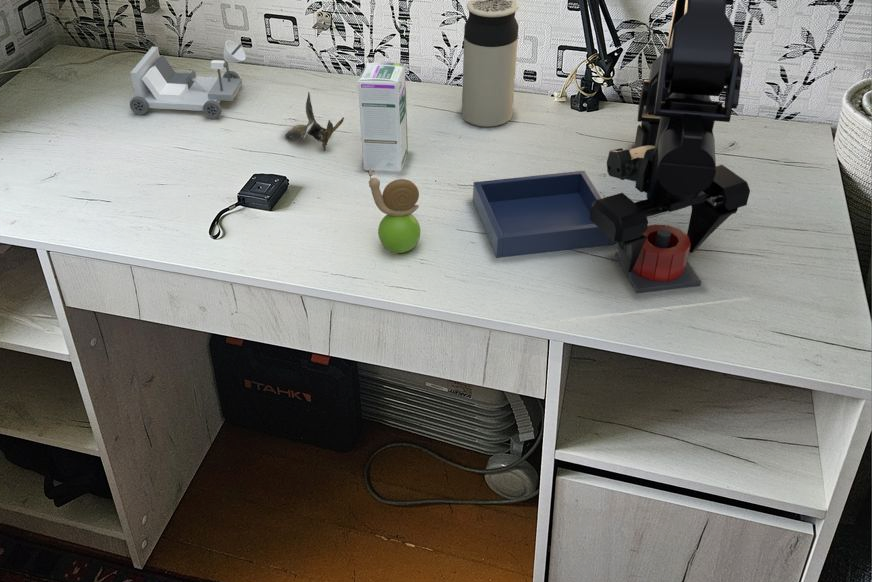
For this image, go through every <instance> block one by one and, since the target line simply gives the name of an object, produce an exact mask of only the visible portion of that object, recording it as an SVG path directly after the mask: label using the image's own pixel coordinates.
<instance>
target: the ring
mask: <svg viewBox="0 0 872 582" xmlns="http://www.w3.org/2000/svg"><path fill="white" fill-rule="evenodd" d="M660 229H667V230H669V231H670V232H671V237H670V242H669V246H668V248H659V247H656V246H655V242H656V237H657V232H658V230H660ZM643 234H644V235H645V236H646V237H647V238H646V241H645V243H644V245H643V248H642V250H641V252H640V254H639V257H638V259H637V261H636V264H635V266H634V268H633V270H634V271H635V272H636V273H637V274H638V275H639V276H641V277H643V278H646V279H649V280H652V281H653V280H654V281H662V282H667V281H672V280H675V279H678V278H680V276H681V275H682V274H683V273H684V271H685V267H686V263H687V261H688V258H689V254H690V253H689V250H690V246H691V243H690V239H689V237H688V235H687V233H685V232H684V231H683V230H682V229H680V228H678V227H676V226H675V227H674V226H672V225H669V224H648V226H647V230H646V231H645V232H644V233H643Z"/></svg>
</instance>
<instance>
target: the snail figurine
mask: <svg viewBox="0 0 872 582" xmlns="http://www.w3.org/2000/svg"><path fill="white" fill-rule="evenodd" d="M367 172H368V173H367V174H368V176H369V180H368V187H369V188H370V191H371V195H372V199H373V201H374V204H375V205H376V207H377V209H378V210H379V211H380V212H381V213H384V214H386V215H385V216H384V217H383V218H382V219H381V220H380V222H379V225H378V229H377V234H378V238H379V241H380V243H381V244H382V246H383V247H384V248H385V249H387V251H390V252H392V253H396V254H403V253H406V252H409V251H411V250H412V249H414V248H415V247H416V245H417V244H418V243H419V240H420V238H421V226H420V222H419V221H418V219H417V218H416V216H414V215H413V213H415V212H416V211H417V210H418V209H419V207H420V205H419V204H417V203H418V201H419V197H420V191H419V188H418V187H417V185H416V184H415V183H414V182H413V181H411V180H409V179H405V178H400V179H399V178H398V179H394V180H392V181H390V182H389V183H388V184H386V186H385V187H384V189H383V191H382V190H381V188H380V186H381V182H380V180H379V178H377V177H372V176H373V175H374V173H373V171H372V169H369V170H368V171H367ZM381 191H382V192H381Z"/></svg>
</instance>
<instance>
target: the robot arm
mask: <svg viewBox="0 0 872 582" xmlns="http://www.w3.org/2000/svg"><path fill="white" fill-rule="evenodd" d="M727 2H728V1H727V0H674V5H673V10H672V16H671V20H670V27H669V31H668V37H667V42H666V46H663V47H662V52H661V54H660V55H659V56H658V57H657V58H656V59H655V60H654V61H653V62H652V63H651V65H650V71H649V76H648V79H643V82H642V85H641V90H640V95H639V102H638V107H637V108H638V110H637V120H636V121H637V122H638V123H639V124H638V125H637V127H636V128H637V129H636V135H635V139H634V143H632V147H633V148H631V149H630V148H629V149H628V148H626V149H623V148H622V147H619V148H616V149H611V150H609V152H608V155H607V160H606V171H607V172H606V173H607V174H608V176H609V177H612V178H616V179H619V180H620V181H625V180H628V181H632V182H635V189H636V190H637V191H638V192H640V193H644V192H645V194H646V199H642V200H639V201H635V202H634V201H633V200H632V199H631V198H630V197H628V196H627V195H626V194H625V193H624V192H620V193H616V194H612V195H609V196H605V197H601V198H602V199H598V200H596V201H594V202H593V203H592V206H591V210H590V218H589V219H590V220H591V221H592V222H593V223H594V224H595V225H596V226H598V227H599V228H600V229H601V230H602V231H603V232H604V233H605V234H606V235H607V236H609V237H610V238H611V239H612V240H613V241H614V242H615V244H616V246H617V251H619V254H620V258H621V262H622V265H623V268H624V270H625V271H626V272H628V273H629V272H631V271H632V269H633V268H634V266H635V264H636V261H637V259H638V257H639V254H640V252H641V250H642V248H643V245H644V243H645V241H646V238H647V237H646V236H645V235H644V234H643V233H644V232H645V231H646V230H647V226H649V220H650V219H652V218H655V217H659V216H662V215H666V214H669V213H672V212H676V211H680V210H682V209H686V208H688V207H691V212H690V218H689V222H688V228H687V233H686V235H688V237H689V239H690V243H691V246H690V250H689V254H693V253H694V252H695V251H696V250H698V249H699V247H700V246H701V245H702V244H703V243H704V242H705V241H706V240H707V239H708V238H709V237H710V236H711V235H712V234H713V233H714V232H715V231H716V230H717V229H718V228H719V227H720V226H721V225H722V224H723V223H724V222H725V221H726V220H728V218H729V217H731V216H732V215H733V214H736V213H737V212H738V210H739V208H742V207H745V206H747V205H748V201H749V197H750V193H751V189H750V186H749V183H748V182H747V181H746V180H745V179H743V178H742V177H741V176H739V175H738V174H736V173H735V172H734V171H732V170H731V169H729V167H727V166H725V165H724V164H719V165H717V161H716V160H717V159H716V141H715V135H714V126H715V122H721V123H730V122H731V118H732V112H733V111H732V110H733V109H734V110H735V109H737V108H738V106H739V100H740V93H741V84H742V76H743V68H744V66H743V62H742V61H741V58H742V55H740V52H739V51H735V42H736V28H735V27H734V25H733V23H732V21H730V19H729V17H728V15H727V14H726V11H727V9H726V8H727ZM724 90H725V94H724V95H725V96H724V103H723V102H722V101H717V100H716V101H715V100H714V101H713V100H712V99H711V97H720V96H721V94H722V93H723V92H724ZM723 104H724V105H723ZM648 219H649V220H648ZM624 270H623V271H624Z"/></svg>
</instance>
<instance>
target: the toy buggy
mask: <svg viewBox="0 0 872 582" xmlns="http://www.w3.org/2000/svg"><path fill="white" fill-rule="evenodd" d="M242 46H243V45H242V43H237V42H236V41H233V40H230V39H229V40H226V41H225V44H224V47H223V59H222V60H220V59H212V60H211V62H210V67H211V69H212V70H217V76H218V77H215V76H196V75H197V72H196V71H194V70H192V71H191V72H190V73H189V72H176V71H175V70H174V68H173V67H172V66H171V64H170V62H169V61H168V60H167V58H166V57H165V55H160V50H159V46H151V47H150V48H149V50H148V51H147V52H146V53H145V54H144V56H143V57H142V58H141V59H140V61H139V62H138V63H137V64H136V65H135V66H134V68H133V69H132V70H131V71H130V77H131V83H132V86H133V91H134V97H132V98H131V99H130V101H129V108H130V110H131V111H132V112H133V113H135V114H136V115H138V116H142V115H143V116H144V115H146V114H147V112H148V111H149V109H162V110H178V111H179V110H180V111H181V110H182V111H199V112H203V114H204V116H205V117H207V118H208V119H211V120H216V119H219V118H220V116H221V115H222V112H223V108H222V106H221V104H220V103H221V101H228V102H233V100H234V99H235V98H236V95H237V94H238V93H239V91H240V89H241V87H242V86H243V79H242V78H241V77H240V75H239V73H237V72H236V71H234V70H230V67H229V64H237V63H240V62H244V61H246V58H247V55H246V52H245V50H244V49H243V47H242ZM224 69H225V70H226V72H224V74H223V75H222V73H221V70H224Z"/></svg>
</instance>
